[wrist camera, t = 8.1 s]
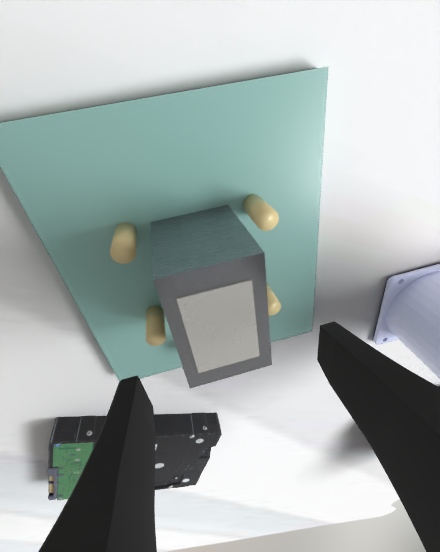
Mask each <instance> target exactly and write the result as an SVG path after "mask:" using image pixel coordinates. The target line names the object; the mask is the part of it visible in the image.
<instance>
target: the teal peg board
mask: <svg viewBox="0 0 440 552" xmlns="http://www.w3.org/2000/svg"><path fill="white" fill-rule="evenodd" d="M327 80H328V67H323V68H317V69H311V70H305V71H299V72H294V73H288V74H282V75H276V76H270V77H264V78H259V79H253V80H247V81H241V82H235V83H229V84H224V85H218V86H212V87H206V88H200V89H194V90H189V91H183V92H177V93H171V94H165V95H159V96H153V97H148V98H142V99H136V100H130V101H124V102H118V103H113V104H107V105H101V106H95V107H89V108H83V109H78V110H72V111H66V112H60V113H54V114H48V115H43V116H37V117H31V118H25V119H19V120H13V121H8V122H2V123H0V167H1V169H2V171H3V172H4V174H5V176H6V178H7V180H8V181H9V183H10V185H11V187H12V189H13V190H14V192H15V194H16V196H17V198H18V199H19V201H20V203H21V205H22V207H23V208H24V210H25V212H26V214H27V216H28V217H29V219H30V221H31V223H32V225H33V227H34V228H35V230H36V232H37V234H38V236H39V237H40V239H41V241H42V243H43V245H44V246H45V248H46V250H47V252H48V254H49V255H50V257H51V259H52V261H53V263H54V264H55V266H56V268H57V270H58V272H59V273H60V275H61V277H62V279H63V281H64V282H65V284H66V286H67V288H68V290H69V291H70V293H71V295H72V297H73V299H74V300H75V302H76V304H77V306H78V308H79V309H80V311H81V313H82V315H83V317H84V318H85V320H86V322H87V324H88V326H89V327H90V329H91V331H92V333H93V335H94V336H95V338H96V340H97V342H98V344H99V345H100V347H101V349H102V351H103V353H104V354H105V356H106V358H107V360H108V362H109V363H110V365H111V367H112V369H113V371H114V372H115V374H116V376H117V378H118V380H119V381H121V380H122V379H126V378H130V377H133V376H137V375H138V377H139V379H140V378H143V377H147V376H151V375H154V374H158V373H162V372H165V371H169V370H172V369H176V368H180V367H183V366H182V363H181V360H180V357H179V354H178V351H177V348H176V346H175V343H174V340H173V337H172V334H171V331H170V328H169V325H168V322H167V319H166V316H165V313H164V310H163V308H162V305H161V302H160V299H159V296H158V293H157V290H156V287H155V284H154V281H153V268H152V246H151V223H150V222H152V221H157V220H161V219H166V218H170V217H175V216H179V215H184V214H188V213H193V212H197V211H202V210H206V209H211V208H215V207H220V206H224V205H229V206H230V208H231V209H232V210H233V212H234V213H235V214H236V216H237V217H238V218H239V220H240V221H241V222H242V224H243V225H244V226H245V227H246V229H247V230H248V231H249V233H250V234H251V235H252V237H253V238H254V239H255V241H256V242H257V243H258V245H259V246H260V247H261V249H262V250H263V251H264V252H265V268H266V283H267V299H268V314H269V330H270V342H274V341H278V340H281V339H285V338H289V337H292V336H296V335H299V334H303V333H307V332H310V331H312V326H313V309H314V293H315V277H316V260H317V244H318V227H319V211H320V195H321V178H322V162H323V146H324V129H325V113H326V97H327Z"/></svg>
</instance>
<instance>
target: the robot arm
mask: <svg viewBox="0 0 440 552" xmlns="http://www.w3.org/2000/svg"><path fill="white" fill-rule="evenodd" d="M396 339H399V340H400V341H401V342H402V343H404V344H405V345H406V346H407V347H408V348H409V349H410V350H411V351H412V352H413V353H414V354H415V355H416V356H417V357H418V358H419V359H420V360H421V361H422V362H423V363H424V364H425V365H426V366H427V367H428V368H430V369H431V370H432V371H433V372H434V373H435V374H436V375H437V376H438V377H439V378H440V264H437V265H433V266H430V267H426V268H422V269H418V270H414V271H410V272H407V273H403V274H399V275H395V276H392V277H390V278H389V279H388V281H387V285H386V289H385V293H384V297H383V301H382V306H381V310H380V314H379V318H378V322H377V327H376V331H375V335H374V339H373V341H374V342H375V344H377V345H379V344H383V343H386V342H390V341H393V340H396ZM317 360H318V362H319V364H320V366H321V368H322V370H323V372H324V374H325V376H326V378H327V379H328V381H329V383H330V385H331V386H332V388H333V389H334V391H335V392H336V394H337V395H338V397H339V398H340V400H341V401H342V403H343V404H344V406H345V407H346V409H347V410H348V412H349V413H350V415H351V416H352V418H353V419H354V421H355V422H356V424H357V425H358V427H359V428H360V430H361V431H362V433H363V434H364V436H365V437H366V439H367V440H368V442H369V444H370V445H371V447H372V448H373V450H374V452H375V454H376V456H377V457H378V459H379V461H380V463H381V465H382V466H383V468H384V470H385V472H386V474H387V475H388V477H389V479H390V481H391V483H392V485H393V487H394V489H395V490H396V492H397V494H398V496H399V498H400V500H401V502H402V503H403V505H404V507H405V509H406V511H407V513H408V515H409V517H410V519H411V521H412V523H413V525H414V527H415V529H416V531H417V533H418V535H419V537H420V539H421V541H422V543H423V545H424V547H425V550H426V552H440V387H438V386H436V385H434V384H432V383H430V382H429V381H427V380H425V379H423V378H421V377H420V376H418V375H416V374H415V373H413V372H411V371H409V370H408V369H406V368H404V367H403V366H401V365H399V364H398V363H396V362H395V361H393V360H391V359H390V358H388V357H387V356H385V355H384V354H382V353H380V352H379V351H377V350H376V349H374V348H373V347H371V346H370V345H368V344H367V343H365V342H364V341H362V340H361V339H359V338H358V337H356V336H355V335H354V334H352V333H351V332H349V331H348V330H346V329H345V328H343V327H342V326H340V325H339V324H337V323H336V322H331V323H327V324H324V325H320V333H319V345H318V358H317ZM154 496H155V423H154V413H153V406H152V404H151V402H150V400H149V398H148V396H147V393H146V391H145V389H144V387H143V385H142V383H141V381H140V379H139V377H138V375H137V376H133V377H130V378H126V379H122V380H121V381H120V382H119V384H118V387H117V390H116V393H115V396H114V398H113V401H112V404H111V406H110V409H109V412H108V414H107V417H106V419H105V422H104V424H103V426H102V429H101V431H100V434H99V436H98V438H97V441H96V443H95V445H94V448H93V450H92V452H91V454H90V456H89V458H88V460H87V463H86V465H85V467H84V469H83V471H82V473H81V475H80V477H79V479H78V481H77V483H76V485H75V487H74V489H73V491H72V493H71V495H70V497H69V499H68V501H67V503H66V504H65V506H64V508H63V510H62V512H61V514H60V515H59V517H58V519H57V521H56V523H55V524H54V526H53V528H52V530H51V531H50V533H49V535H48V536H47V538H46V540H45V542H44V543H43V545H42V547H41V548H40V550H39V552H157V550H156V535H155V514H154Z"/></svg>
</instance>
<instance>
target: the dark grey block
mask: <svg viewBox="0 0 440 552" xmlns="http://www.w3.org/2000/svg"><path fill="white" fill-rule="evenodd" d="M150 223H151V246H152V268H153V281H154V284H155V287H156V290H157V293H158V296H159V299H160V302H161V305H162V308H163V310H164V313H165V316H166V319H167V322H168V325H169V328H170V331H171V334H172V337H173V340H174V343H175V346H176V348H177V351H178V354H179V357H180V360H181V363H182V366H183V369H184V372H185V375H186V378H187V381H188V384H189V387H190V388H193V387H196V386H200V385H203V384H207V383H210V382H214V381H217V380H221V379H224V378H228V377H231V376H234V375H238V374H241V373H245V372H248V371H252V370H255V369H259V368H262V367H266V366H269V365H272V361H271V345H270V330H269V314H268V299H267V283H266V268H265V252H264V251H263V250H262V249H261V247H260V246H259V245H258V243H257V242H256V241H255V239H254V238H253V237H252V235H251V234H250V233H249V231H248V230H247V229H246V227H245V226H244V225H243V224H242V222H241V221H240V220H239V218H238V217H237V216H236V214H235V213H234V212H233V210H232V209H231V208H230V206H229V205H224V206H220V207H215V208H211V209H206V210H202V211H197V212H193V213H188V214H184V215H179V216H175V217H170V218H166V219H161V220H157V221H152V222H150Z"/></svg>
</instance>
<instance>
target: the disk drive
mask: <svg viewBox="0 0 440 552" xmlns="http://www.w3.org/2000/svg"><path fill="white" fill-rule="evenodd" d="M106 417H107V416H81V417H57V418H56V420H55V424H54V427H53V431H52V435H51V438H50V442H49V466H48V477H49V496H48V498H49V500H54V499H56V498H57V500H63V499H69V497H70V495H71V493H72V491H73V489H74V487H75V485H76V483H77V481H78V479H79V477H80V475H81V473H82V471H83V469H84V467H85V465H86V463H87V460H88V458H89V456H90V454H91V452H92V450H93V448H94V445H95V443H96V441H97V438H98V436H99V434H100V431H101V429H102V426H103V424H104V422H105V419H106ZM154 423H155V490H159V489H167V488H178V487H185V486H189V485H196V483H197V481H198V479H199V477H200V475H201V473H202V471H203V469H204V467H205V466H206V464H207V462H208V460H209V458H210V451H211V447H213V446H216V444H217V442H218V440H219V438H220V436H221V429H220V424H219V419H218V415H217V413H191V414H158V415H154Z"/></svg>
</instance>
